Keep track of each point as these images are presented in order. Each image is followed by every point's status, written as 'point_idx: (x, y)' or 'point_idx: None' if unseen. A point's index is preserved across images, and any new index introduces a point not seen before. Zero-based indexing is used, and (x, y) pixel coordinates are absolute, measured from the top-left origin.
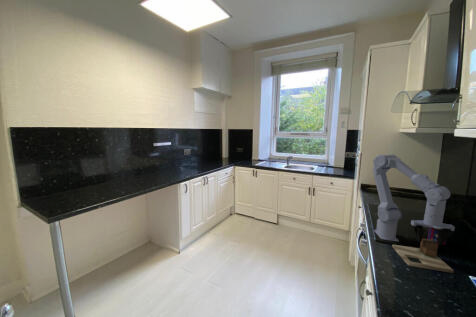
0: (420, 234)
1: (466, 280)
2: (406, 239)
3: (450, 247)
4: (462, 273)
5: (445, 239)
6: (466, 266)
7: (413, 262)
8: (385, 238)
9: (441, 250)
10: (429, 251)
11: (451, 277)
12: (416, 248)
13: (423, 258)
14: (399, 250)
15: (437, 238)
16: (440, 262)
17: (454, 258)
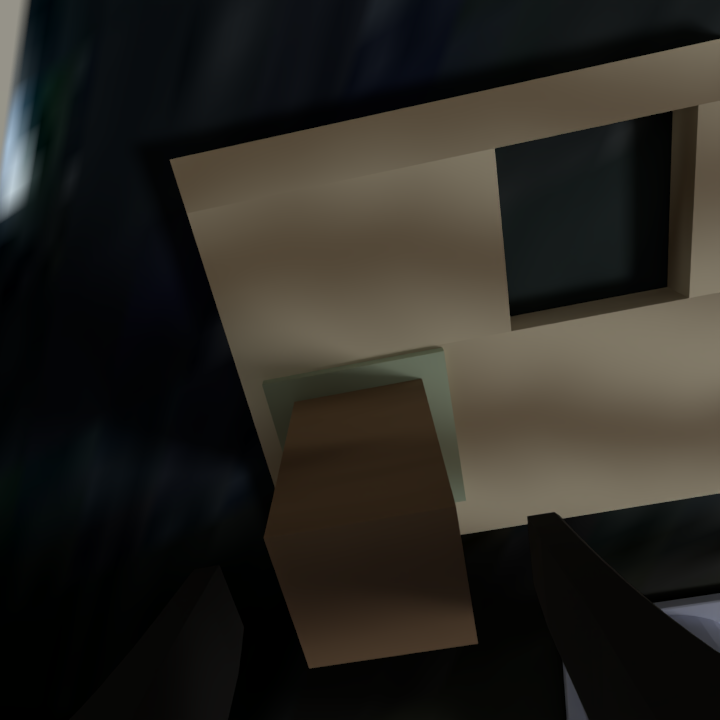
0: (687, 651)
1: (71, 34)
2: (449, 693)
3: None
4: (79, 214)
5: (106, 691)
6: (7, 413)
7: (668, 93)
8: (709, 612)
9: None
10: (380, 425)
11: (236, 7)
12: None
13: (462, 303)
14: (706, 373)
15: (227, 715)
16: (276, 302)
17: (87, 527)
